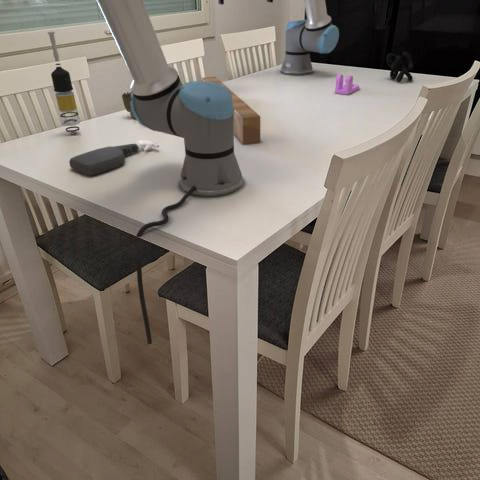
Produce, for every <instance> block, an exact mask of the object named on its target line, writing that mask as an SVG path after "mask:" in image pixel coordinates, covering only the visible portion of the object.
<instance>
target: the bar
mask: <svg viewBox="0 0 480 480" xmlns="http://www.w3.org/2000/svg"><path fill="white" fill-rule="evenodd" d="M201 81H203V82H213V83H217V84H220V85H223V86H225V87H226V88H227V89H228V90H229V91H230V92H231V95H232V101H233V107H234V136H235V137H236V138H237V139H238V140H239V141H240V143H241V144H242V145H249V144H257V143H261V115H260V114H258V113H257V112H256V111H255V110H254V108H253V109H252V107H250V106H249V105H248V104H247V103H246V102H245V101H244V100H243V99H242V98H241V97H239V96H238V95H237V94H236V93H235V92H234V91H232V90H231V89H230V88H229V87H227V85H226V84H225V83H223V82H222V81H221V80H220V79H219V78H218V77H217V76H205V77H201Z"/></svg>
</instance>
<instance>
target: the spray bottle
mask: <svg viewBox="0 0 480 480" xmlns="http://www.w3.org/2000/svg"><path fill="white" fill-rule="evenodd" d="M159 148H160V145H159V144H158V143H155V142H151V141H148V140H144V139H139V140H138V141H137V142H135V143H129V144H128V143H126V144H122V145H113V146H105V147H100V148H97V149H94V150H90V151H87V152H83V153H81V154H78V155H74V156H73V157H70V159H69V161H68V162H69V167H70V168H71V169H72V170H74V171H75V172H78V173H81V174H83V175H85V176H89V177H90V176H91V177H92V176H95V175H99V174H102V173H105V172H107V171H110V170H113V169H116V168H118V167H120V166H122V165H123V164H124V163H125V158H126V156H127V155H131V154H133V153H138V151H140V150H143V151H144V152H146V151H147V150H149V149H159Z"/></svg>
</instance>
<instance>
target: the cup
mask: <svg viewBox="0 0 480 480" xmlns="http://www.w3.org/2000/svg"><path fill="white" fill-rule="evenodd" d="M131 93H132V91H131V90H130V91H127V92H124V93H122V94H121V98H122V103H123V105H124V108H125V110H126V112H128V113H129V117H131V118H135V117H134V115H133V113H132V110H131V106H130V102H131V101H132V98H131Z"/></svg>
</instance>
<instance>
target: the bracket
mask: <svg viewBox="0 0 480 480" xmlns="http://www.w3.org/2000/svg"><path fill="white" fill-rule="evenodd" d="M344 78H345V77H344V74H340V73H338V74H337V75H336V79H335V88H334V93H335V94H339V95H346V96H348V95H350V94H352V93H354V92H356V91H358V90H359V89H360V85H359V84H358V83H354V76H353V75H350V74H349V75H346V78H345V84H344Z"/></svg>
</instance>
